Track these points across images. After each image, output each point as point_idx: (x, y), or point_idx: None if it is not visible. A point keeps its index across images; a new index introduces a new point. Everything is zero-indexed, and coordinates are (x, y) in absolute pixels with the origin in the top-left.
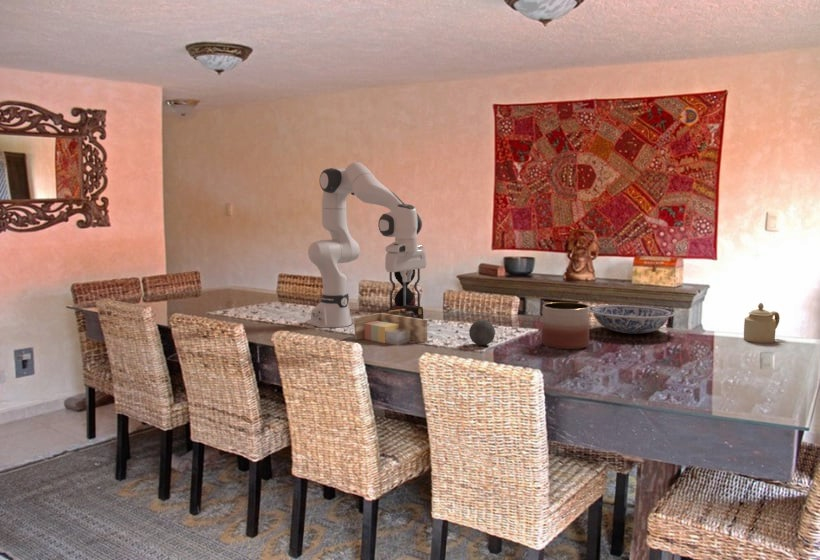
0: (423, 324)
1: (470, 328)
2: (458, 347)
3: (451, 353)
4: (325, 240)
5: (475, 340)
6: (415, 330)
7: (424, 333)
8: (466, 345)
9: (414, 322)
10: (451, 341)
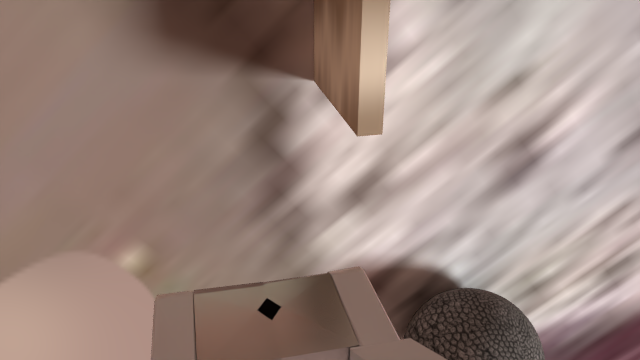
0: (347, 103)
1: (440, 353)
2: None
3: None
4: None
5: None
6: (333, 1)
7: (329, 91)
8: (396, 275)
9: (351, 1)
10: (432, 166)
